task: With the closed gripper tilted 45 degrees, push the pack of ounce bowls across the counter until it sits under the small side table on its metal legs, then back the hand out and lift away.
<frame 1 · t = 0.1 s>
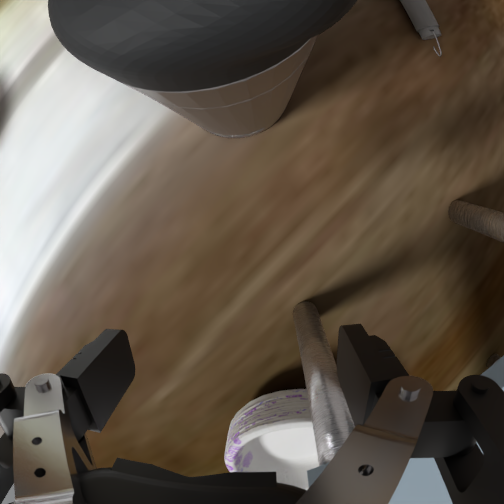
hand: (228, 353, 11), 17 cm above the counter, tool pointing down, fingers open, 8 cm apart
paper bowls: (291, 415, 34), on the counter
small side table: (423, 344, 30), on the counter
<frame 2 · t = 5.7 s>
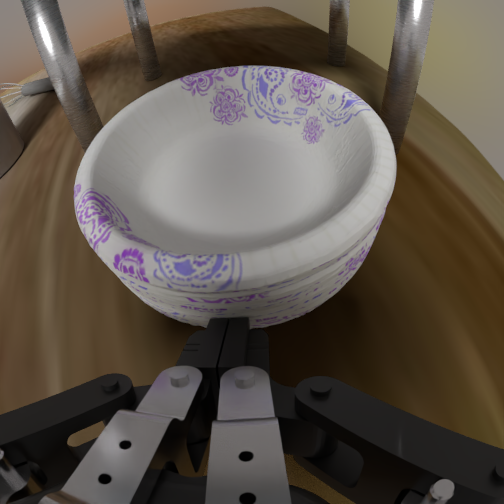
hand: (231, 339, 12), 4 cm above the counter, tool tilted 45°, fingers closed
paper bowls: (242, 232, 19), on the counter, touching gripper
kitchen whisk: (30, 98, 42), on the counter
small side table: (243, 95, 29), on the counter
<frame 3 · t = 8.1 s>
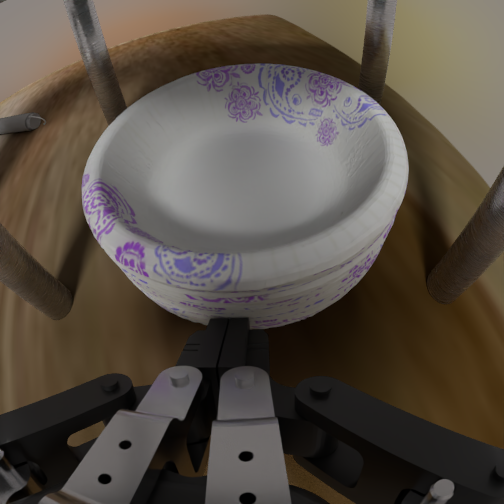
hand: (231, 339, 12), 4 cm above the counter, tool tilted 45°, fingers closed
paper bowls: (250, 231, 19), on the counter, touching gripper
small side table: (241, 179, 22), on the counter
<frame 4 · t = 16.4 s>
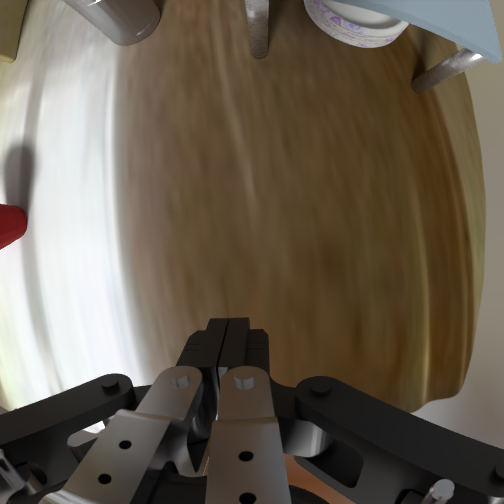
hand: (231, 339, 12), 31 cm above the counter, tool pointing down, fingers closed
beige rectangular block: (16, 27, 34), on the counter
paper bowls: (349, 17, 34), on the counter
plastic cup: (19, 220, 43), on the counter
small side table: (345, 16, 34), on the counter
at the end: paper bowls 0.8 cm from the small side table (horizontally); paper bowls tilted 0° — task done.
